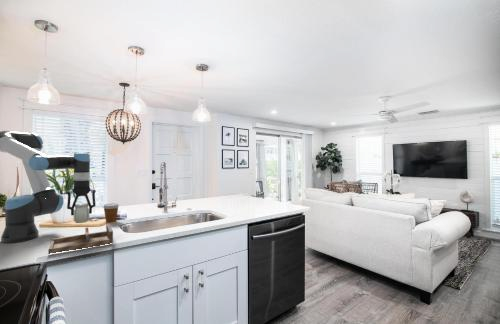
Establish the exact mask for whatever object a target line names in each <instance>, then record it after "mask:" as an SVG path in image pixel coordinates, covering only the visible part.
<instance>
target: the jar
mask: <svg viewBox="0 0 500 324" xmlns="http://www.w3.org/2000/svg"><path fill="white" fill-rule="evenodd" d="M88 208H89V205H88V203H87V202H86V203H85V202H83V203H82V202H80V203H76V204H75V207H74V209H75V221H74V222H75V224H84V223H87V222H88V221H89V220H88Z"/></svg>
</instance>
